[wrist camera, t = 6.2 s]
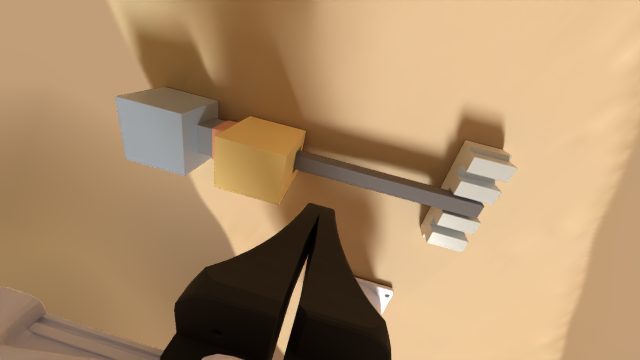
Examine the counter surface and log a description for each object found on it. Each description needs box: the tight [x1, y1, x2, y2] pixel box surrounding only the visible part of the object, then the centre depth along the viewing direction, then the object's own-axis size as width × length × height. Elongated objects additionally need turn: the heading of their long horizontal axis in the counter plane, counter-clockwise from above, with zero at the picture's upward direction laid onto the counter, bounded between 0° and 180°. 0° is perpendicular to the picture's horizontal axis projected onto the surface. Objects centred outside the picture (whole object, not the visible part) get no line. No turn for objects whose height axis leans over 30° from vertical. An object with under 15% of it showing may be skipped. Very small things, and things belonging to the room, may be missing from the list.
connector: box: [115, 87, 226, 176], centre depth 21 cm, size 5×7×5 cm
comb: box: [420, 140, 517, 252], centre depth 21 cm, size 9×3×3 cm, turn 168°
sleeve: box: [214, 116, 306, 205], centre depth 20 cm, size 4×5×6 cm
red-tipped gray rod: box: [212, 120, 484, 219], centre depth 21 cm, size 23×3×3 cm, turn 78°
